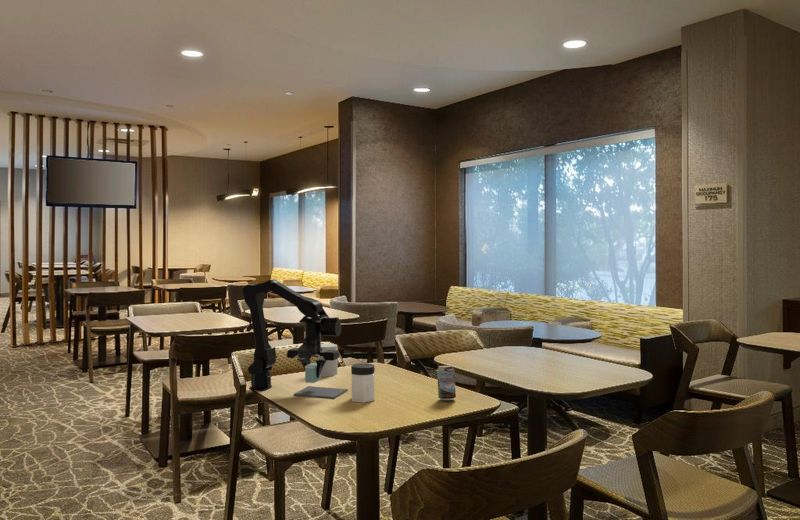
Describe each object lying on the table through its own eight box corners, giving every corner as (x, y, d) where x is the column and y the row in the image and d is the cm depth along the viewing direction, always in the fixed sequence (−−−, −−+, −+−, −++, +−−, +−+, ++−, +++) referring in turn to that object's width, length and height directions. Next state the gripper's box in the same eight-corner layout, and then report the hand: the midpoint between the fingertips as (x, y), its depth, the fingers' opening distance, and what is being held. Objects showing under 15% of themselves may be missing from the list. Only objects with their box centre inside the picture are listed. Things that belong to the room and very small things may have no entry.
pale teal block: (305, 382, 220) (304, 365, 220) (312, 378, 226) (312, 362, 225) (314, 383, 219) (313, 366, 219) (321, 379, 225) (321, 363, 224)
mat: (293, 395, 218) (293, 393, 218) (308, 387, 229) (308, 386, 229) (334, 398, 213) (334, 397, 213) (347, 390, 225) (347, 389, 225)
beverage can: (444, 403, 206) (444, 368, 206) (433, 398, 213) (433, 364, 213) (459, 401, 209) (459, 366, 209) (448, 396, 216) (448, 362, 215)
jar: (357, 404, 206) (357, 369, 206) (346, 399, 213) (346, 365, 213) (380, 400, 211) (379, 365, 211) (368, 395, 218) (368, 362, 217)
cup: (341, 373, 254) (341, 344, 254) (329, 377, 248) (328, 347, 247) (326, 371, 259) (326, 343, 258) (313, 374, 252) (313, 346, 252)
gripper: (279, 337, 217) (279, 380, 217) (327, 339, 211) (327, 384, 212) (293, 332, 227) (294, 374, 228) (339, 335, 222) (339, 377, 222)
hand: (313, 377), depth 222 cm, fingers closed on pale teal block, 3 cm apart
